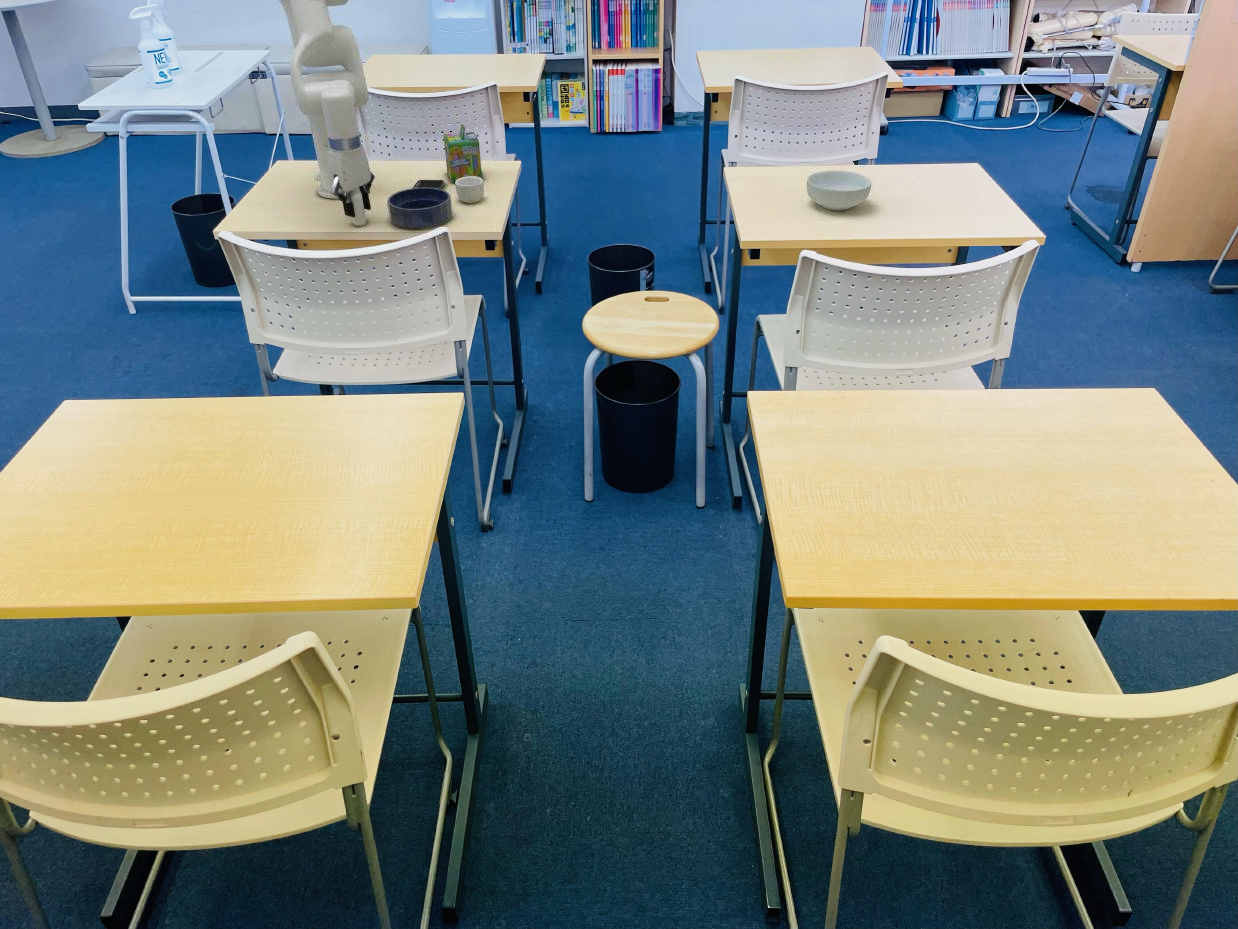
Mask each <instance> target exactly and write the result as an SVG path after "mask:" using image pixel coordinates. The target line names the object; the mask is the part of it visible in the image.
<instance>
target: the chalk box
mask: <svg viewBox="0 0 1238 929" xmlns="http://www.w3.org/2000/svg"><path fill="white" fill-rule="evenodd" d="M479 141H480V140H479V138H478V137H477V135H476V134H475V132H474V131H470V132H469V131H468V132H466V127H465V125H464V124H463V123H461V124H460V130H459V132H458V133H447V134H445V133H444V134H443V143H444V144H443V145H444V156H445V163H446V164H445V165H446V173H447V175H448V177H449V179H450V181H451V183H452V184H455V181H456V180H457V179H459V178H462V177H468V176H475V177H480V178H482V179H483V172H482V160H481V151H480V150H481V148H480V142H479Z"/></svg>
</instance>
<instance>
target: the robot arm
mask: <svg viewBox="0 0 1238 929" xmlns="http://www.w3.org/2000/svg"><path fill="white" fill-rule="evenodd" d="M278 1H279V2H280V4H281V6H282V8H283V11H284V12H285V15H286V18H287V20H286V21H287V23H288V27H289V31H290V36H291V40H292V43H293V47H294V50H293V53H292V55H291V59H290V62H289V76H290V81H291V84H292V88H293V92H294V96H295V100H296V102H297V103H296V104H297V106H298V109H299V110H300V112H301V113H302V114H304V116H307V119H308V123H309V127H310V132H311V136H312V139H313V140H312V141H313V145H314V152H315V156H316V159H317V160H316V161H317V165H318V170H319V171H317V173H316V175H314V177H313V179H314V180H315V181H316V182H319V183H320V186H319V187H318V188H317V192H318V195H319V196H321V198H325V199H330V200H331V199H332V200H334V199H338V200H339V201H340V202H342V207H343V211H344V215H345V216H346V217H348V218H349V217H350V218H352V217H355V211H354V206H353V202H351V190H353V189H355V188H359V191H360V192H361V194H362V199H363V204H364V210H367V211H370V210H372V206H371V200H370V194H371V188H372V185H373V182H374V180H375V179H376V178H375V177H376V176H375V174H374V173H372V171H371V168H370V164H369V159H368V156H367V152H366V150H365V147H364V145H363V144H362V141H361V137H362V133H361V131H360V130H359V124H358V119H357V114H356V109H357V108H362V107H365V106H366V105H367V104H368V103H369V90H368V85H367V80H366V75H365V71H364V68H363V67H364V66H363V62H362V58H361V54H360V50H359V45H358V43H357V39H356V37H355V34H354V33H353V31H352V29H351V28H349V27H348V26H346V25H344V24H343V25H342V24H341V25H339V24H337V25H332V24H333V23H332V20H331V17H330V12H329V8H328V7H337V6H339V7H340V6H345V5H346V4H348V2H349V0H278ZM335 66H340V67H343V68H344V69H341V70H334V71H331V70H330V71H329V70H328V71H321V72H313V73H309V74H306V75H304V76H303V70H302V69H303V67H304V68H308V69H309V68H312V69H315V68H326V67H327V68H328V67H335Z"/></svg>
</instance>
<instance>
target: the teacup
mask: <svg viewBox="0 0 1238 929" xmlns="http://www.w3.org/2000/svg"><path fill="white" fill-rule="evenodd" d="M454 186H455V192H456V195H457V197H458V199H459V200H460V201H461V202H463V203H465V204H474V203H478V202H480V201H481V200H482V199H483V196H484V192H485V183H484V179H483V177H482V178H480V177H475V176H468V177H462V178H459V179H457V180H456V181H455V183H454Z"/></svg>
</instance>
